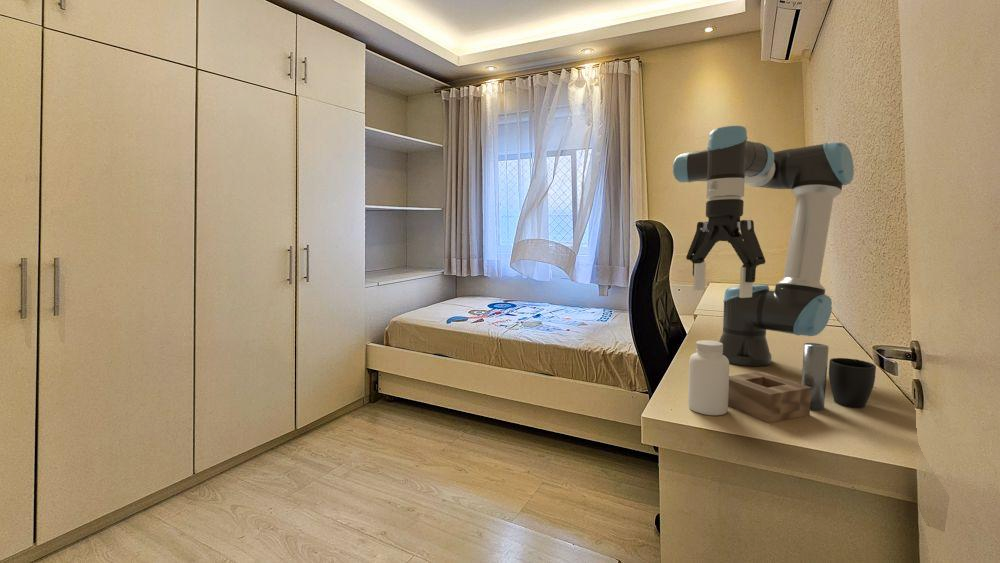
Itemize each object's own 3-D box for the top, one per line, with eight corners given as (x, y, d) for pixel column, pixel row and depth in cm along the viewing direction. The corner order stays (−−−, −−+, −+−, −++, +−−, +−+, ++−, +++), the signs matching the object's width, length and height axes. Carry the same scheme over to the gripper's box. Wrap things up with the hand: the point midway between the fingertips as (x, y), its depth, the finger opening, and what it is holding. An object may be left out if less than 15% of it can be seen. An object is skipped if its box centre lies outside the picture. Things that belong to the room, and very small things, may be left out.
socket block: (759, 396, 105) (760, 371, 105) (809, 414, 94) (811, 387, 94) (720, 402, 101) (721, 377, 101) (768, 423, 90) (770, 394, 89)
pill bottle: (686, 400, 103) (689, 337, 101) (725, 405, 100) (728, 340, 98) (688, 413, 95) (690, 345, 94) (729, 418, 92) (733, 348, 91)
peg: (809, 402, 101) (813, 342, 100) (828, 409, 97) (833, 346, 96) (795, 404, 100) (799, 343, 99) (815, 411, 96) (819, 348, 94)
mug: (878, 399, 103) (881, 359, 102) (869, 413, 95) (872, 370, 94) (835, 390, 109) (837, 353, 108) (822, 403, 101) (825, 362, 100)
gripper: (672, 203, 109) (670, 288, 112) (759, 193, 86) (754, 302, 88) (697, 203, 112) (694, 286, 114) (788, 194, 88) (783, 299, 90)
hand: (720, 293), depth 101 cm, fingers open, 13 cm apart
